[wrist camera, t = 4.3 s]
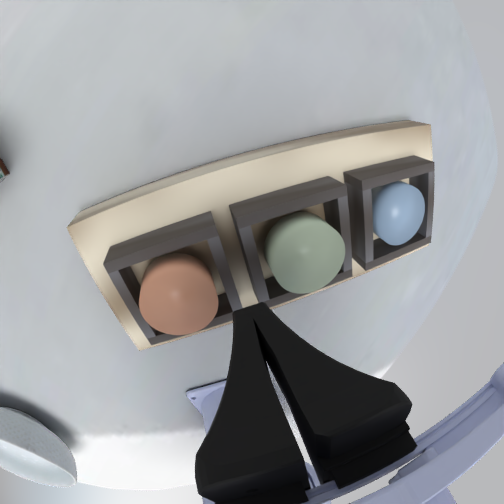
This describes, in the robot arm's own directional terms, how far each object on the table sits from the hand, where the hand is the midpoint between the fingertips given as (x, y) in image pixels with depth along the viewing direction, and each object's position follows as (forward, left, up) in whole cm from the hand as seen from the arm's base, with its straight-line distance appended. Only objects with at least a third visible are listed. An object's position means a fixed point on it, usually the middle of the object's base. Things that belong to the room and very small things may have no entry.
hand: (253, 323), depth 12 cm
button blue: (0, -11, -6) cm, 12 cm away
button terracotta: (0, +3, -5) cm, 6 cm away
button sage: (0, -4, -5) cm, 6 cm away
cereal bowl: (-16, +34, -9) cm, 39 cm away
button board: (0, -4, -8) cm, 9 cm away
